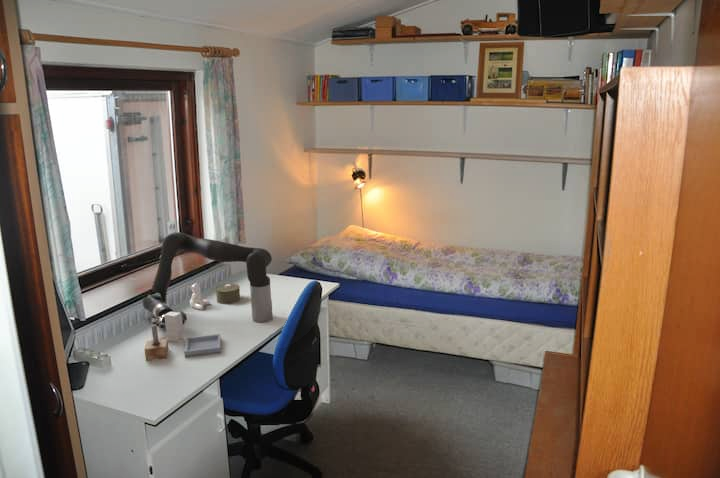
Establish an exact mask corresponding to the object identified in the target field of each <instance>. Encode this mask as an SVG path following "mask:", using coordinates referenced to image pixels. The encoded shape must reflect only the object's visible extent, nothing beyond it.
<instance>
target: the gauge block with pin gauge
mask: <svg viewBox="0 0 720 478" xmlns="http://www.w3.org/2000/svg"><path fill="white" fill-rule="evenodd" d="M151 334H152V340H147V341H146V343H145V347H144V357H145V362H147V361H155V360H165V359H167V358H168V355H169V350H170V349H169V341H168V339H167V338H162V339H159V333H158V326H157V325H152V324H151Z"/></svg>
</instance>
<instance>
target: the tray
mask: <svg viewBox="0 0 720 478" xmlns="http://www.w3.org/2000/svg"><path fill="white" fill-rule="evenodd" d="M185 338H186V339H185V345H184V358H190V357H191V358H192V357H199V356H208V355H219V354H221V350H222V345H221V343H222V341H221V340H222V338H221V334H220V333H217V334H209V335H208V334H206V335H198V336H197V335H196V336H187V337H185Z"/></svg>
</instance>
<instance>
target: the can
mask: <svg viewBox="0 0 720 478" xmlns="http://www.w3.org/2000/svg"><path fill="white" fill-rule="evenodd" d="M240 288H241V287H240V285H239V284H237V283H226V284H220V285H218V286H216V287H215V293H216V294H215V295H216V302H217V303H218V304H220V305H231V304H235V303H237V302H240V300H241V294H240Z"/></svg>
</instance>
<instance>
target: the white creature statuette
mask: <svg viewBox="0 0 720 478" xmlns="http://www.w3.org/2000/svg"><path fill="white" fill-rule="evenodd" d="M189 289H190V290H191V291H192V292H193V293H192V294H191V298H190V300H189V305H190V307H193V309H195V308H196V309H195V310H198V309H199V311H203V310H204V307H205V306H207V305H208V304H209V305H210V300H209V299H203V296H202V294H201V287H200V284H199V283H194V284H192V285H191V286H190V287H189ZM203 306H204V307H203Z"/></svg>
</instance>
